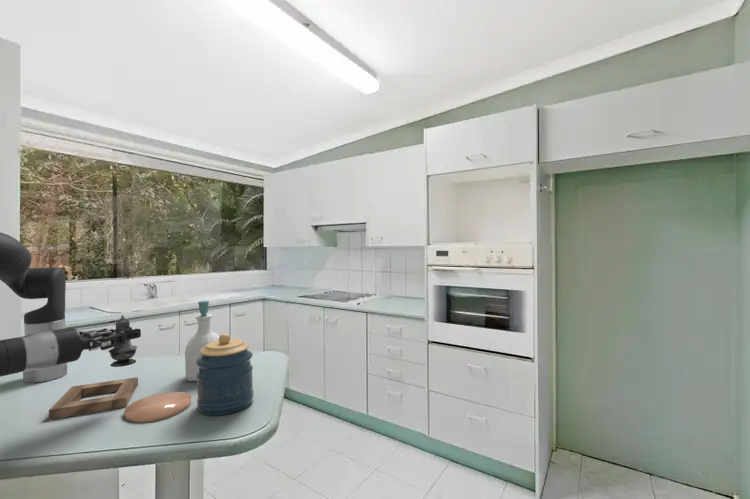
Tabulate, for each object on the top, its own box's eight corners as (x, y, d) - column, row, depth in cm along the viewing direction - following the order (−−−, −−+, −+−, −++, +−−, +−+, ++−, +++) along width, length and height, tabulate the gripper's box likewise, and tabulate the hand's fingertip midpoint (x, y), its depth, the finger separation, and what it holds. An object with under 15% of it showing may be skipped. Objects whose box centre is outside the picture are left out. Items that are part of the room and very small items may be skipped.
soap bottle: (224, 369, 116) (222, 297, 115) (220, 380, 106) (218, 302, 106) (191, 372, 113) (189, 299, 112) (184, 384, 104) (181, 304, 103)
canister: (259, 407, 89) (257, 335, 88) (200, 422, 82) (198, 344, 81) (247, 389, 100) (245, 325, 99) (194, 401, 93) (192, 332, 92)
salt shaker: (122, 368, 87) (121, 317, 87) (102, 366, 88) (101, 317, 88) (143, 360, 93) (142, 313, 92) (124, 359, 94) (123, 312, 94)
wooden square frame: (49, 419, 84) (48, 410, 84) (72, 394, 98) (71, 386, 98) (126, 406, 90) (126, 397, 90) (138, 384, 104) (137, 377, 104)
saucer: (118, 427, 80) (117, 423, 80) (131, 402, 93) (131, 398, 93) (189, 414, 86) (189, 410, 86) (192, 391, 98) (192, 388, 98)
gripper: (62, 335, 74) (150, 319, 89) (35, 327, 82) (121, 314, 96) (63, 371, 74) (151, 350, 89) (36, 361, 82) (122, 342, 97)
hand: (135, 331), depth 93 cm, fingers closed on salt shaker, 3 cm apart
